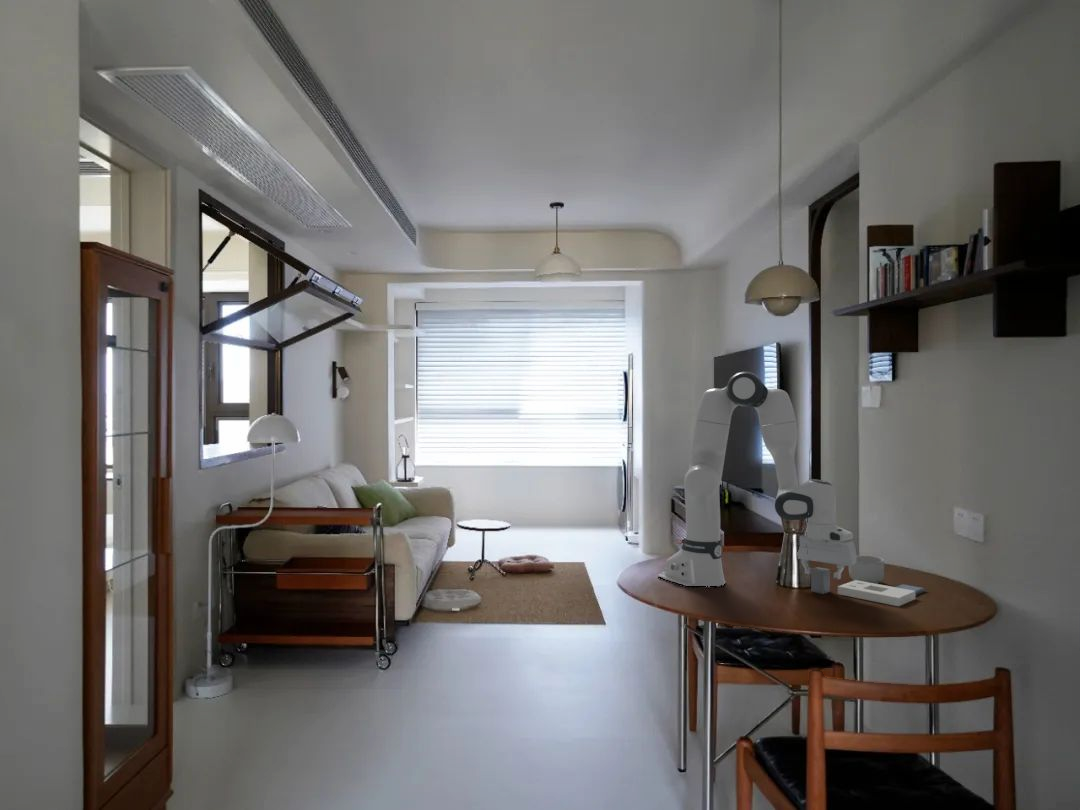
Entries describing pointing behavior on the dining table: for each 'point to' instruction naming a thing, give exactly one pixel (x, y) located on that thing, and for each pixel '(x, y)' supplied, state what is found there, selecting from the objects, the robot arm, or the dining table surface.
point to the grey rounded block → (867, 569)
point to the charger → (820, 580)
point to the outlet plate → (877, 592)
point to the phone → (912, 588)
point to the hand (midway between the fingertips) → (822, 576)
